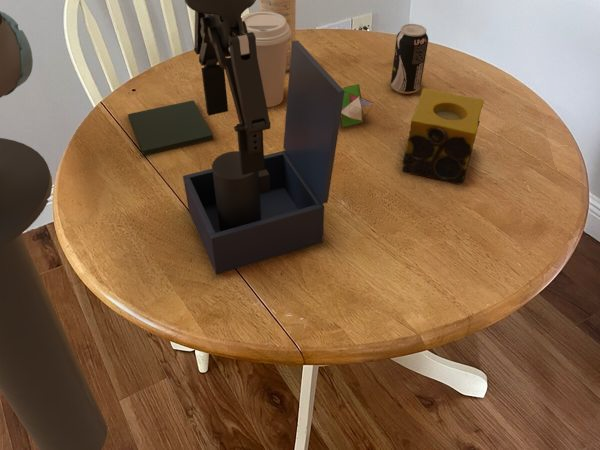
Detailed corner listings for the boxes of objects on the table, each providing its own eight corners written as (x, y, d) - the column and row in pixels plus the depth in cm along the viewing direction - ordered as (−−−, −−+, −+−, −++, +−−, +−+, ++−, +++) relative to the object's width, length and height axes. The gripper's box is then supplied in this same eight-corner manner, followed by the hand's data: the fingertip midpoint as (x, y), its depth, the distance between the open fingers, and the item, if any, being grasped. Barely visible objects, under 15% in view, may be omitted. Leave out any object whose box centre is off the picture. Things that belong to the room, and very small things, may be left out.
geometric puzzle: (319, 100, 105) (333, 81, 98) (352, 92, 107) (368, 72, 100) (333, 137, 104) (348, 120, 97) (366, 128, 107) (384, 111, 99)
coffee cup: (232, 106, 107) (225, 28, 97) (251, 81, 114) (247, 6, 104) (281, 116, 105) (279, 37, 95) (298, 90, 112) (298, 13, 102)
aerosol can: (302, 64, 119) (303, -38, 106) (279, 76, 116) (278, -27, 102) (277, 53, 123) (275, -47, 109) (254, 65, 119) (249, -37, 105)
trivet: (128, 118, 104) (127, 113, 104) (194, 104, 108) (193, 100, 107) (143, 156, 96) (142, 151, 96) (213, 139, 100) (212, 134, 99)
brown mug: (227, 246, 80) (220, 184, 73) (214, 218, 84) (206, 157, 77) (277, 231, 83) (275, 169, 75) (262, 205, 87) (259, 144, 79)
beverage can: (392, 79, 115) (400, 20, 107) (421, 83, 114) (431, 24, 106) (387, 93, 111) (395, 33, 103) (418, 98, 110) (428, 38, 102)
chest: (216, 274, 78) (211, 238, 73) (188, 211, 87) (182, 175, 82) (322, 242, 82) (324, 206, 77) (286, 185, 91) (285, 150, 86)
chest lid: (338, 91, 66) (344, 90, 66) (291, 40, 75) (297, 40, 75) (321, 204, 77) (327, 202, 77) (283, 147, 86) (288, 146, 86)
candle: (413, 138, 101) (421, 86, 94) (472, 150, 98) (485, 98, 91) (399, 172, 94) (408, 119, 87) (463, 186, 91) (477, 133, 84)
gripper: (302, 4, 51) (301, 190, 66) (216, -77, 68) (231, 86, 82) (219, 18, 49) (238, 208, 63) (152, -69, 66) (178, 97, 80)
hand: (234, 139), depth 73 cm, fingers open, 13 cm apart
